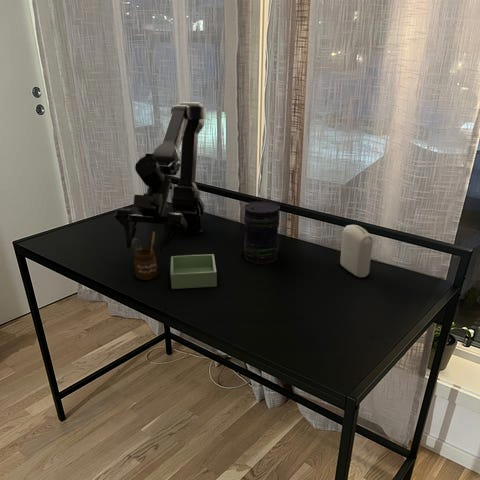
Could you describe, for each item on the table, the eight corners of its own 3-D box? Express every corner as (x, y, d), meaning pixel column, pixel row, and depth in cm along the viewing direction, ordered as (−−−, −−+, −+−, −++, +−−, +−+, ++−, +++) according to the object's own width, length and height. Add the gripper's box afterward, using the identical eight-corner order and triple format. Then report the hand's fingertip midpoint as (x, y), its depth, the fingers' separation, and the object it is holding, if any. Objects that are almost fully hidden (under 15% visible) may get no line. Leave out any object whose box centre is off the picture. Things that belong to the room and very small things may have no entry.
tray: (172, 269, 142) (170, 256, 140) (214, 267, 143) (213, 254, 141) (171, 288, 132) (170, 274, 130) (217, 286, 133) (216, 272, 131)
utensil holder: (133, 273, 140) (128, 231, 134) (155, 269, 142) (151, 228, 136) (138, 282, 135) (133, 239, 129) (161, 278, 137) (157, 235, 131)
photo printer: (337, 264, 144) (341, 222, 138) (350, 261, 145) (355, 220, 139) (356, 279, 136) (362, 235, 129) (370, 276, 137) (376, 232, 131)
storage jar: (269, 247, 154) (270, 199, 147) (284, 260, 147) (286, 209, 139) (238, 253, 151) (238, 204, 143) (252, 266, 143) (252, 214, 136)
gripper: (113, 178, 133) (98, 233, 129) (180, 182, 128) (167, 239, 125) (129, 199, 143) (116, 250, 139) (192, 203, 139) (181, 257, 135)
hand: (144, 249), depth 134 cm, fingers open, 9 cm apart
